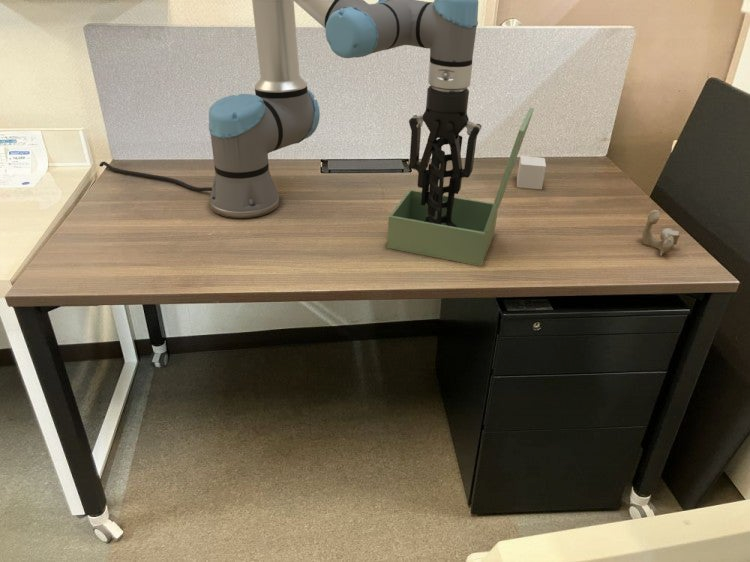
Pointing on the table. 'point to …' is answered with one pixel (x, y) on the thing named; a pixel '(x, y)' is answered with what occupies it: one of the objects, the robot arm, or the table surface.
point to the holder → (437, 191)
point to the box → (442, 229)
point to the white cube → (531, 172)
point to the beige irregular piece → (667, 235)
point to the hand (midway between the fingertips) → (437, 204)
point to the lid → (509, 168)
